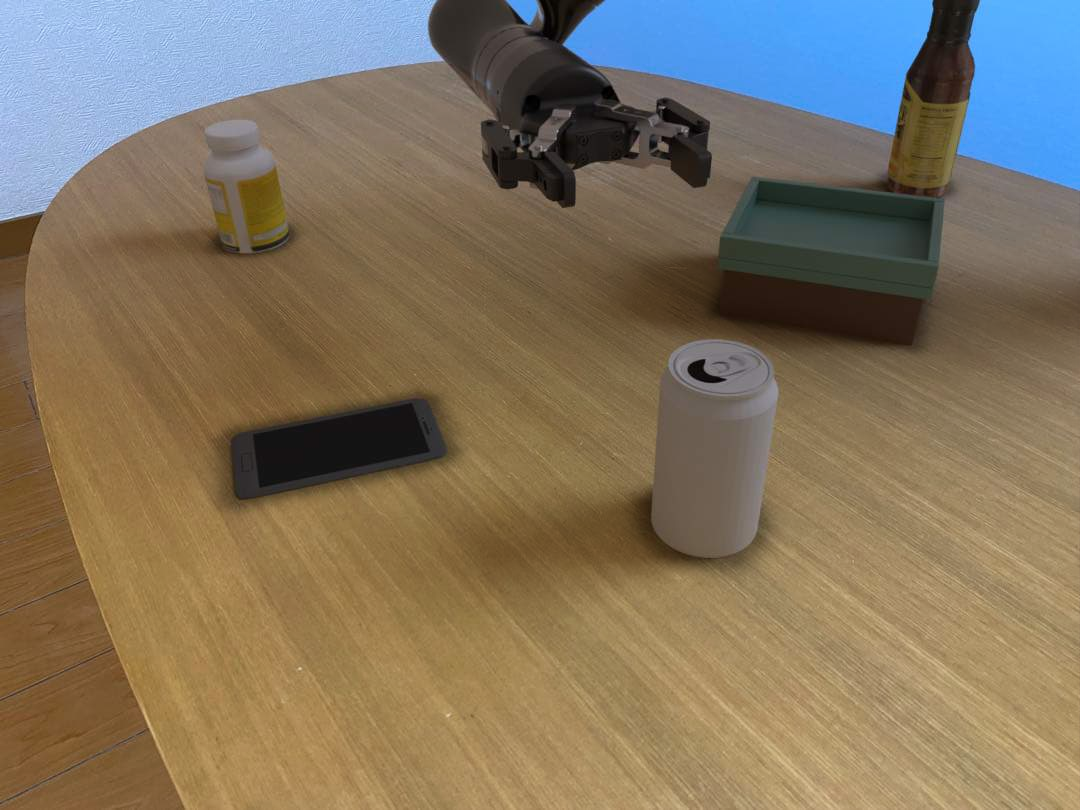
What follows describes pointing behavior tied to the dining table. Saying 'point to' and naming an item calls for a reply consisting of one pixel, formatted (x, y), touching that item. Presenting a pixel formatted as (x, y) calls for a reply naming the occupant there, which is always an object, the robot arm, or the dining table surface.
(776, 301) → the storage box
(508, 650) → the dining table surface
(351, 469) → the cell phone
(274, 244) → the pill bottle
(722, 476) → the beverage can
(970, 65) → the sauce bottle
